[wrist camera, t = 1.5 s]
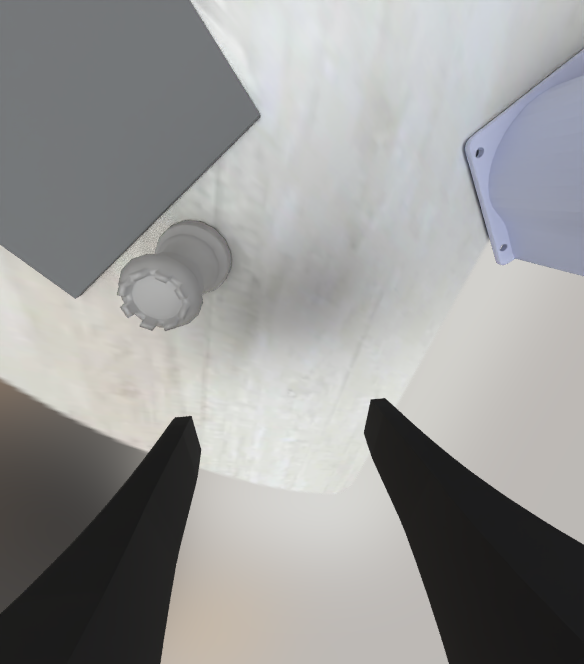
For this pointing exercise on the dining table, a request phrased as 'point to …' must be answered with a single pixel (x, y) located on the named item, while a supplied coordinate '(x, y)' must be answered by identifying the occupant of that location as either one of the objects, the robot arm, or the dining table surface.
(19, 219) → the mat
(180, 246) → the rook chess piece
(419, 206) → the dining table surface
